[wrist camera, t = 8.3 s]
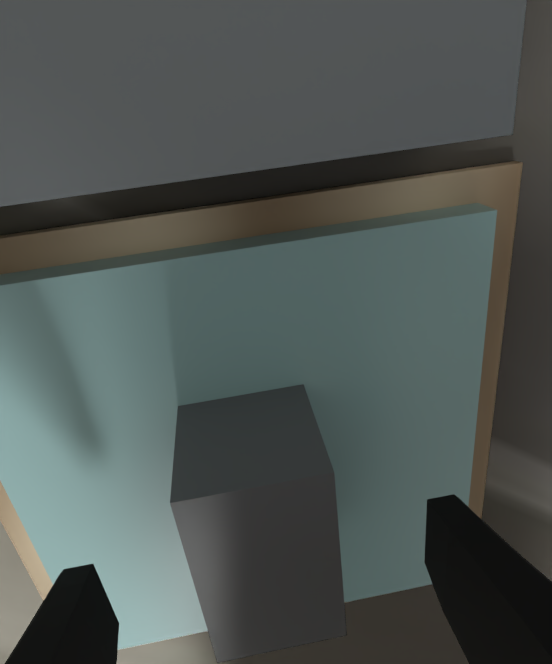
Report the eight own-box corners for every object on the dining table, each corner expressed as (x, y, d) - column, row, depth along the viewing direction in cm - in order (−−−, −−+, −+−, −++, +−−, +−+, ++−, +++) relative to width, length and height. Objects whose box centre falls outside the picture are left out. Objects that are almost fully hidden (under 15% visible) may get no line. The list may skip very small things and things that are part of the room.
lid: (478, 202, 11) (603, 250, 7) (449, 557, 16) (515, 678, 13) (-71, 285, 10) (-212, 381, 7) (94, 629, 15) (63, 779, 12)
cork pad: (514, 160, 11) (522, 162, 11) (470, 568, 17) (474, 575, 17) (-130, 254, 10) (-140, 259, 10) (76, 649, 16) (74, 659, 16)
